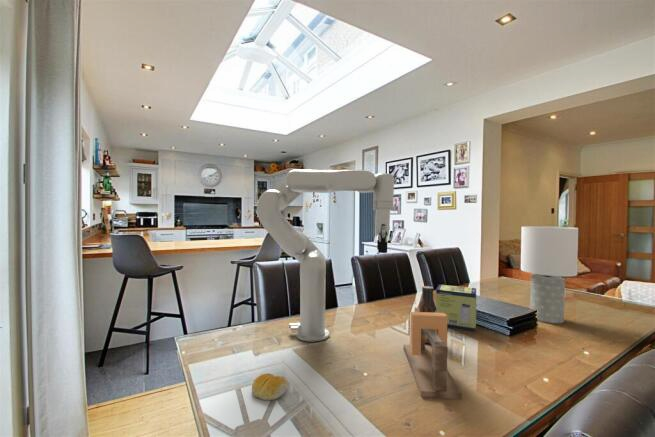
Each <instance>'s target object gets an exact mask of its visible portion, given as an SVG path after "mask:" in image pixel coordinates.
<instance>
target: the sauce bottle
mask: <svg viewBox="0 0 655 437" xmlns="http://www.w3.org/2000/svg"><path fill="white" fill-rule="evenodd" d="M434 290H435V288H434V287H433V286H430V285H425V286H422V287H421V291H422V298H421V301H420V303H419V305H418V306H419V307H418V308H419V310H418V312H431V313H437V309H436V302H435V301H434ZM433 330H434V331H436V329H433ZM425 344H431V343H430V341H429V339H428V338H427V336H426V334H425Z"/></svg>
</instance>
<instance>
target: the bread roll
mask: <svg viewBox="0 0 655 437" xmlns="http://www.w3.org/2000/svg"><path fill="white" fill-rule="evenodd" d="M287 386H288V385H287V382H286V380H285V379H284V378H283V377H282V376H278V375H274V374H272V373H270V372H269V373H268V372H267V373H263V374H262V373H261V374H259V376H257V377H255V379H254V380H253V383H252V386H251V391H252V395H253V396H254V397H255V398H258V399H261V400H263V401H273V400H277V399H279V398H280V397H282V396H283V395H284V394H285V393H286V391H287V390H288V388H287Z"/></svg>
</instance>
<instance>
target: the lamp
mask: <svg viewBox="0 0 655 437" xmlns="http://www.w3.org/2000/svg"><path fill="white" fill-rule="evenodd" d="M520 234H521V236H520V238H521V240H520V270H521V272H525V273H529V274H532V275H531V276H530V287H529V290H530V294H529V296H530V297H529V301H530V302H529V310H530V309H533V310H537V319H538V321H539V322H541V323H545V324H546V323H547V324H554V325H555V324H556V325H560V324H561V325H562V324H563V323H564V322H565V304H566V303H565V299H566V296H565V295H566V279H565V278H564V277H576V276H578V252H579V227H569V226H567V227H566V226H545V225H544V226H541V225H540V226H539V225H538V226H535V225H533V226H531V225H529V226H528V225H527V226H526V225H524V226H521V233H520ZM538 321H537V322H538Z"/></svg>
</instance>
